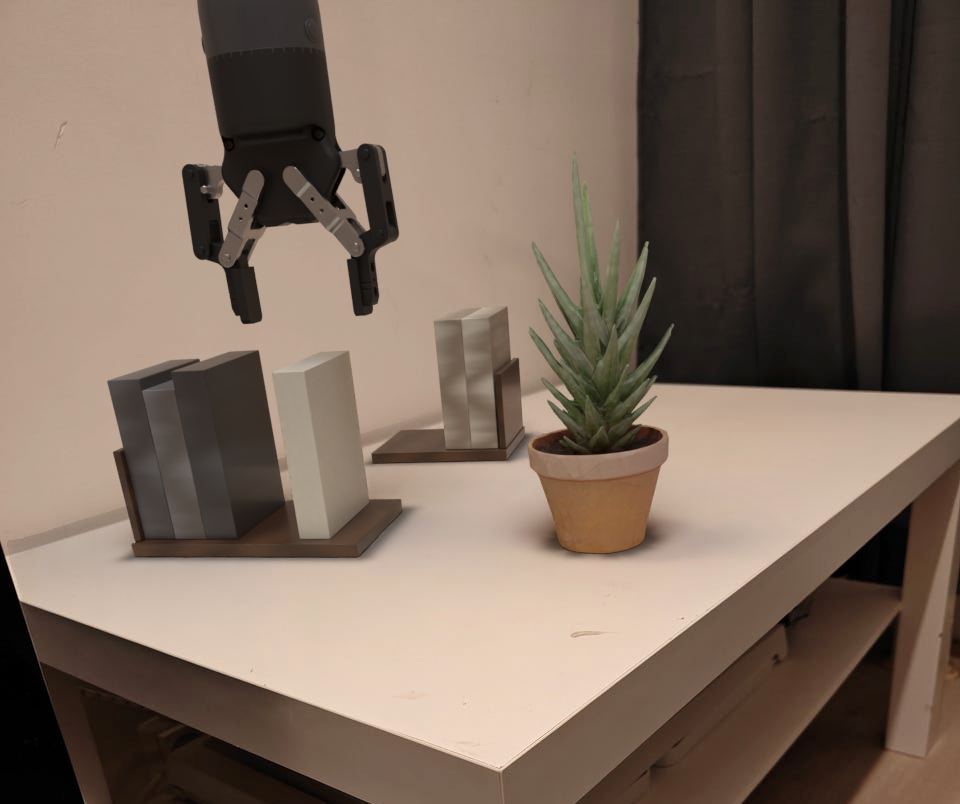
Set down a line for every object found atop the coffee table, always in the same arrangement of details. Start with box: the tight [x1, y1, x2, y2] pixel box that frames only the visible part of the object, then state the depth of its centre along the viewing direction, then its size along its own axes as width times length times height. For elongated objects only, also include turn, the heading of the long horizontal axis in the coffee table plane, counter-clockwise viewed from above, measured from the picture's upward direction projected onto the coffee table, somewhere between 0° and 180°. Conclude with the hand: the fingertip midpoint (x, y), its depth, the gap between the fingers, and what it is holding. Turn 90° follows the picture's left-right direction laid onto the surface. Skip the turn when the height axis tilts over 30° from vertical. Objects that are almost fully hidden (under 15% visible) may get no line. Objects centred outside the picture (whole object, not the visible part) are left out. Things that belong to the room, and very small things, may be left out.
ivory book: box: [271, 350, 370, 539], centre depth 70 cm, size 2×9×12 cm, turn 168°
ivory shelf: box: [371, 305, 526, 464], centre depth 92 cm, size 14×10×13 cm
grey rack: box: [106, 349, 403, 558], centre depth 71 cm, size 18×11×13 cm, turn 77°
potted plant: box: [527, 151, 675, 554], centre depth 61 cm, size 10×10×25 cm
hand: (307, 318), depth 66 cm, fingers open, 8 cm apart
